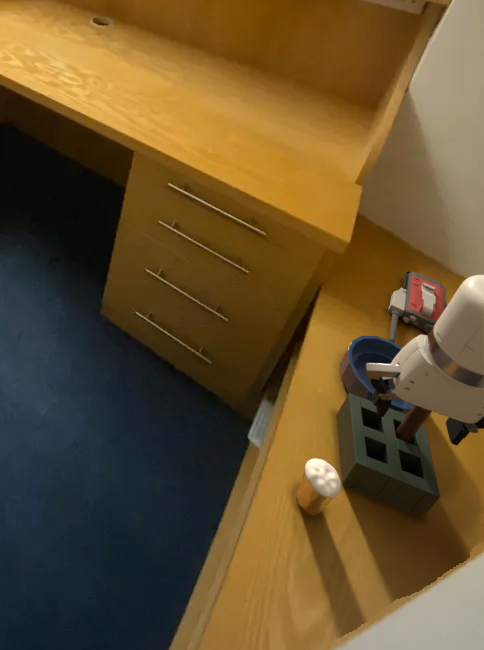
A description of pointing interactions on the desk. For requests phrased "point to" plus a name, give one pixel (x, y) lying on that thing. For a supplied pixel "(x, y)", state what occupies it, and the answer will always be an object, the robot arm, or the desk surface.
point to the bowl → (355, 368)
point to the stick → (412, 423)
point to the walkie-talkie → (417, 303)
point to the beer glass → (317, 486)
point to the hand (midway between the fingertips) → (413, 420)
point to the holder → (385, 457)
